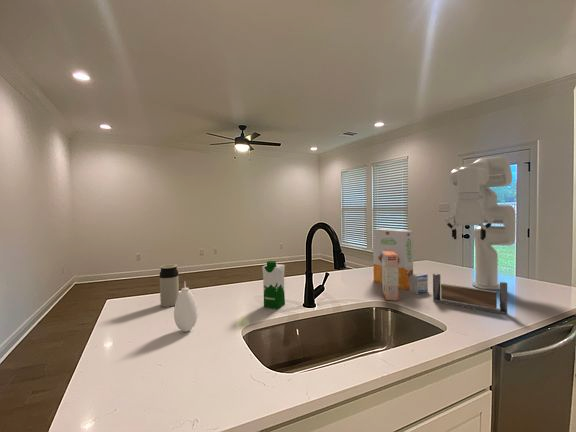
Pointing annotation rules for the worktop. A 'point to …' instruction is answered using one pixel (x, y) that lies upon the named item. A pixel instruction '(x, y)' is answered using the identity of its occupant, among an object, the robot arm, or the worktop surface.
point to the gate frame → (501, 311)
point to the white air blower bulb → (185, 310)
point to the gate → (469, 295)
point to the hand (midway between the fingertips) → (468, 239)
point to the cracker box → (390, 275)
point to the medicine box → (419, 283)
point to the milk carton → (273, 284)
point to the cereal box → (398, 244)
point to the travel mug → (169, 285)
